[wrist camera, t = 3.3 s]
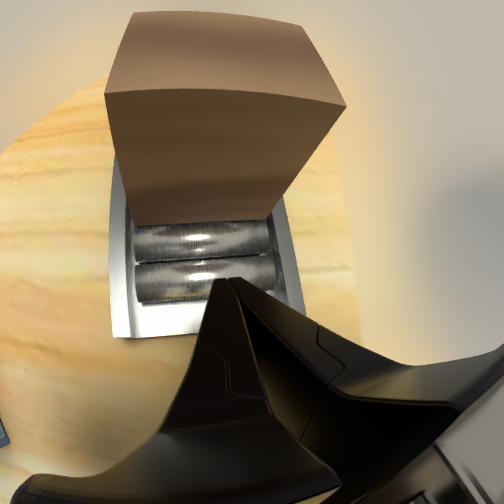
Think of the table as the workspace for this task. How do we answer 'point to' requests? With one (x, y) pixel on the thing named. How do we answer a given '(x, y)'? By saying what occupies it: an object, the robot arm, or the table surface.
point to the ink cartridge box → (3, 437)
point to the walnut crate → (214, 114)
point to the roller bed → (185, 308)
